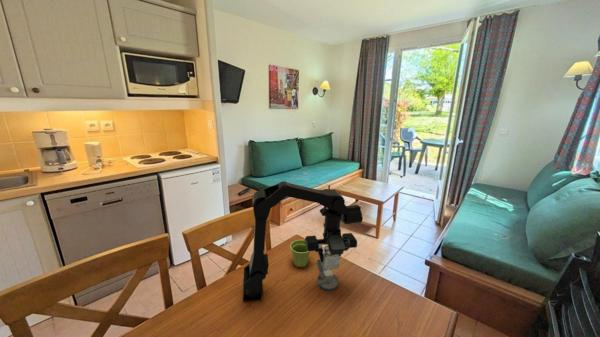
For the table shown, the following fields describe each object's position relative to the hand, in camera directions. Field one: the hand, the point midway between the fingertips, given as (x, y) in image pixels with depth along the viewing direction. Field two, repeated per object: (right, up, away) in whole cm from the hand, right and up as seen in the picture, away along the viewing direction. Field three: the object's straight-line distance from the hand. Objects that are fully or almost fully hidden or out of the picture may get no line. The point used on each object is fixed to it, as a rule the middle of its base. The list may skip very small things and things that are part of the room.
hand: (329, 260), depth 90 cm
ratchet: (-1, -9, +7) cm, 12 cm away
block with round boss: (0, -1, 0) cm, 2 cm away
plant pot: (-11, -7, +14) cm, 19 cm away
